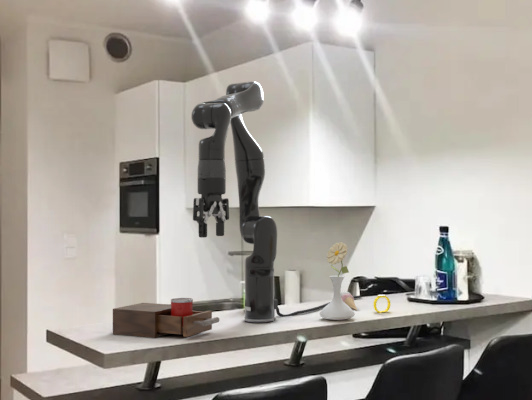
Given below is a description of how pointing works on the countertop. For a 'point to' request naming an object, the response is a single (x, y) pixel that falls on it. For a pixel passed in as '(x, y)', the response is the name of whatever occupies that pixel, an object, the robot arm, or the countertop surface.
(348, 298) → the ice cream cone
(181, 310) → the tin can
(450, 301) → the countertop surface
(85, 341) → the countertop surface
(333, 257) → the flower in vase
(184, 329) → the drawer
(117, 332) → the cabinet
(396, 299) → the countertop surface
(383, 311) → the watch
